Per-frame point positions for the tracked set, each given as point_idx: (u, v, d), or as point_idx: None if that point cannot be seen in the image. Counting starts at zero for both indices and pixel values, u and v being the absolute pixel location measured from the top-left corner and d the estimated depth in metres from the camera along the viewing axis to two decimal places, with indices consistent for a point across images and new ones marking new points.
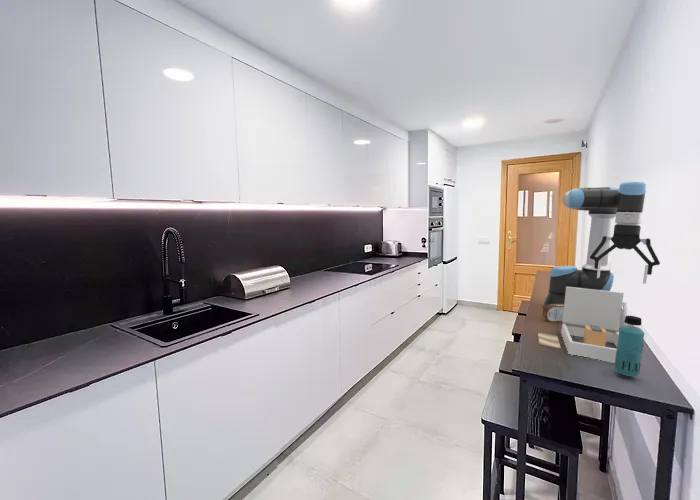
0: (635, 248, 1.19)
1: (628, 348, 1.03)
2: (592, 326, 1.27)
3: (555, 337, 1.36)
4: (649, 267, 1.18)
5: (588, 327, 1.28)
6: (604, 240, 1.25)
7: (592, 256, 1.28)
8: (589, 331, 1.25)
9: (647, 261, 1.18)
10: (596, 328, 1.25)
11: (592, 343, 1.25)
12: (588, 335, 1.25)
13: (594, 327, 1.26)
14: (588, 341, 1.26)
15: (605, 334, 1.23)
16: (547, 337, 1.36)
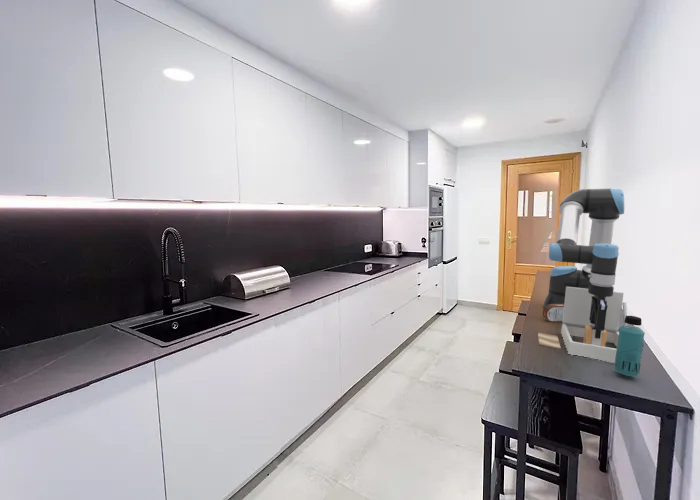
0: (594, 308, 1.24)
1: (628, 348, 1.03)
2: (592, 326, 1.27)
3: (555, 337, 1.36)
4: (595, 330, 1.23)
5: (588, 327, 1.28)
6: None
7: None
8: (589, 331, 1.25)
9: (594, 324, 1.23)
10: None
11: None
12: (588, 335, 1.25)
13: None
14: (588, 340, 1.26)
15: (605, 334, 1.23)
16: (547, 337, 1.36)
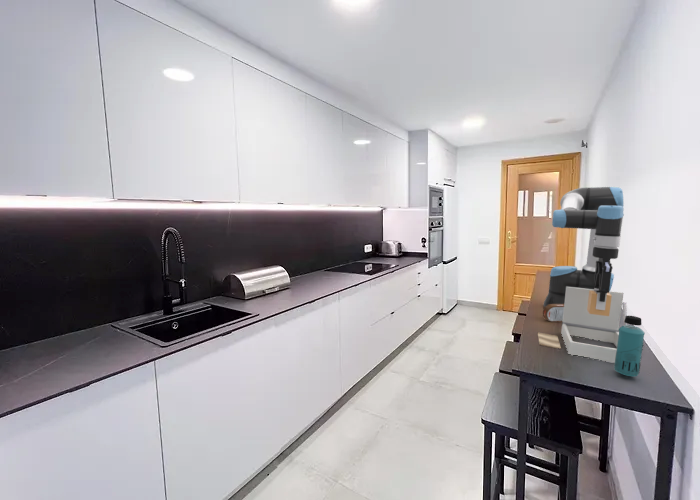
0: (598, 271, 1.22)
1: (628, 348, 1.03)
2: (596, 290, 1.26)
3: (555, 337, 1.36)
4: (600, 294, 1.21)
5: (592, 291, 1.26)
6: (596, 264, 1.29)
7: (594, 282, 1.30)
8: (593, 295, 1.23)
9: (599, 287, 1.22)
10: None
11: None
12: (592, 299, 1.24)
13: None
14: (592, 305, 1.24)
15: (609, 298, 1.21)
16: (547, 337, 1.36)
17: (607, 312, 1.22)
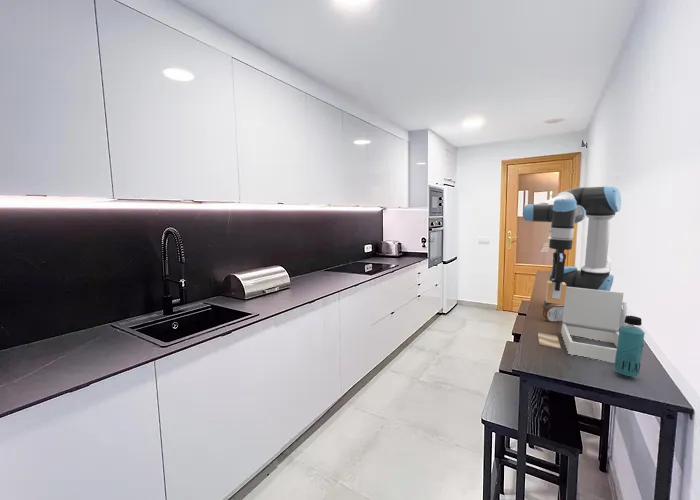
0: (554, 262, 1.28)
1: (628, 348, 1.03)
2: None
3: (555, 337, 1.36)
4: (555, 283, 1.27)
5: (549, 281, 1.32)
6: None
7: (552, 273, 1.36)
8: (550, 284, 1.29)
9: (554, 277, 1.28)
10: None
11: None
12: (549, 288, 1.30)
13: None
14: (549, 294, 1.30)
15: (564, 287, 1.27)
16: (547, 337, 1.36)
17: (562, 301, 1.28)
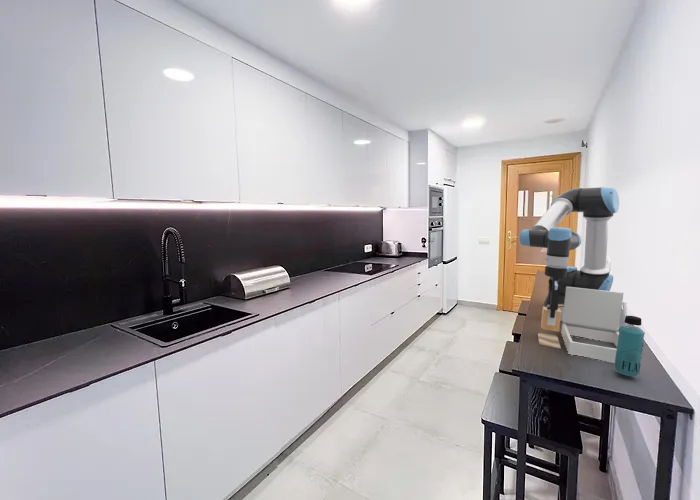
0: (549, 289, 1.30)
1: (628, 348, 1.03)
2: None
3: (555, 337, 1.36)
4: (550, 310, 1.29)
5: (545, 308, 1.34)
6: None
7: (547, 299, 1.37)
8: (545, 311, 1.31)
9: None
10: None
11: None
12: (544, 315, 1.31)
13: None
14: (544, 320, 1.32)
15: (559, 314, 1.29)
16: (547, 337, 1.36)
17: (557, 327, 1.30)
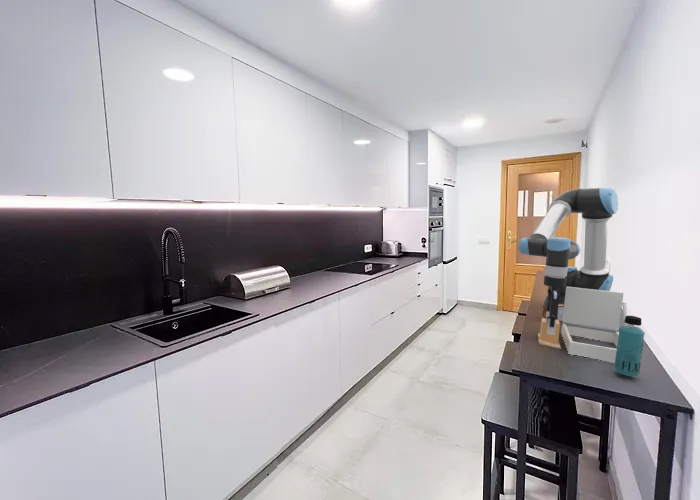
0: (548, 299, 1.30)
1: (628, 348, 1.03)
2: (547, 318, 1.34)
3: None
4: (550, 320, 1.28)
5: (544, 319, 1.34)
6: None
7: (546, 306, 1.39)
8: (544, 323, 1.32)
9: (549, 313, 1.29)
10: None
11: (547, 334, 1.32)
12: (543, 327, 1.32)
13: None
14: (543, 332, 1.32)
15: (558, 326, 1.30)
16: None
17: (556, 339, 1.30)
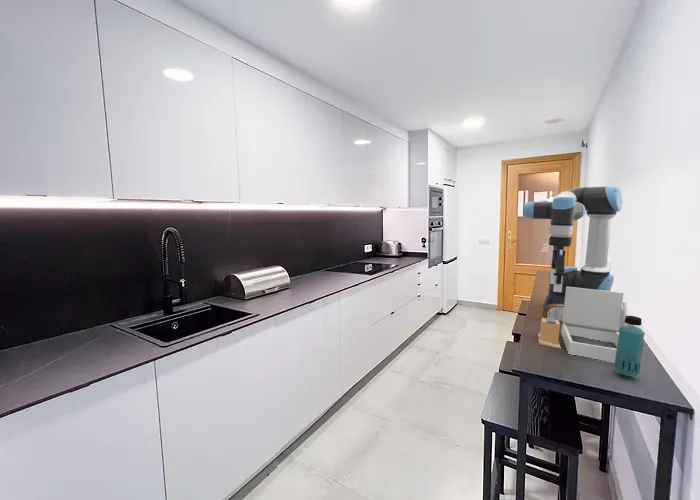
0: (554, 258, 1.30)
1: (628, 348, 1.03)
2: (547, 318, 1.34)
3: None
4: (556, 276, 1.26)
5: (544, 319, 1.34)
6: None
7: None
8: (544, 323, 1.32)
9: (555, 270, 1.27)
10: (551, 320, 1.32)
11: (547, 334, 1.32)
12: (543, 327, 1.32)
13: (549, 319, 1.33)
14: (543, 332, 1.32)
15: (558, 326, 1.30)
16: None
17: (556, 339, 1.30)
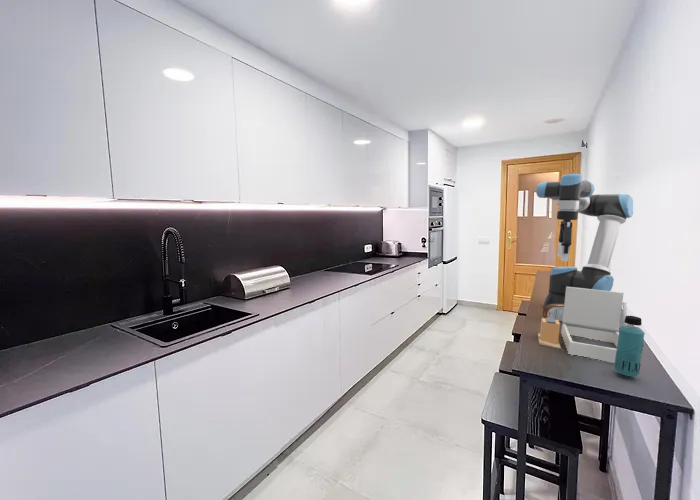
0: (561, 230, 1.41)
1: (628, 348, 1.03)
2: (547, 318, 1.34)
3: None
4: (564, 247, 1.38)
5: (544, 319, 1.34)
6: (561, 224, 1.49)
7: None
8: (544, 323, 1.32)
9: (563, 241, 1.38)
10: (551, 320, 1.32)
11: (547, 334, 1.32)
12: (543, 327, 1.32)
13: (549, 319, 1.33)
14: (543, 332, 1.32)
15: (558, 326, 1.30)
16: None
17: (556, 339, 1.30)
